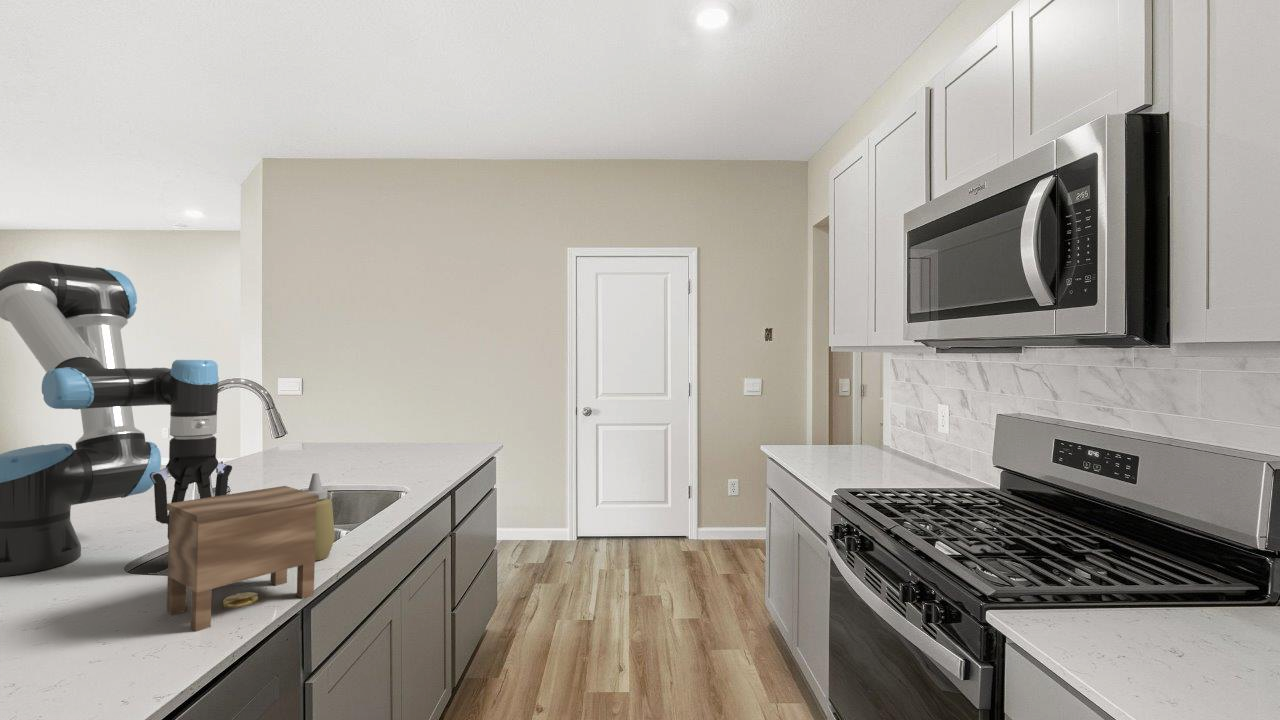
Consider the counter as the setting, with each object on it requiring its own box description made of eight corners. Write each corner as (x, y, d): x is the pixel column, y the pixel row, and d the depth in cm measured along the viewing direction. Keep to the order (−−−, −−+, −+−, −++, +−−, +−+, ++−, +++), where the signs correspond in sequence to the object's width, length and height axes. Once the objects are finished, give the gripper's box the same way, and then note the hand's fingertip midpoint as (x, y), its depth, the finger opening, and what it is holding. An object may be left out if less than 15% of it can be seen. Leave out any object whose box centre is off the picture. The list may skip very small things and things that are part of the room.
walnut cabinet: (163, 611, 98) (166, 503, 98) (282, 579, 113) (285, 485, 113) (194, 632, 91) (197, 516, 91) (316, 594, 106) (318, 495, 106)
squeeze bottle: (315, 565, 121) (318, 478, 121) (282, 562, 123) (284, 476, 123) (343, 553, 129) (345, 471, 129) (311, 550, 130) (313, 469, 131)
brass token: (217, 604, 102) (218, 599, 102) (249, 595, 106) (249, 590, 106) (230, 612, 99) (231, 606, 99) (263, 602, 103) (263, 596, 103)
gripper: (148, 442, 109) (145, 568, 109) (248, 434, 123) (245, 546, 123) (134, 438, 113) (131, 560, 113) (232, 431, 127) (229, 540, 127)
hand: (190, 553), depth 118 cm, fingers closed on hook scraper, 3 cm apart
